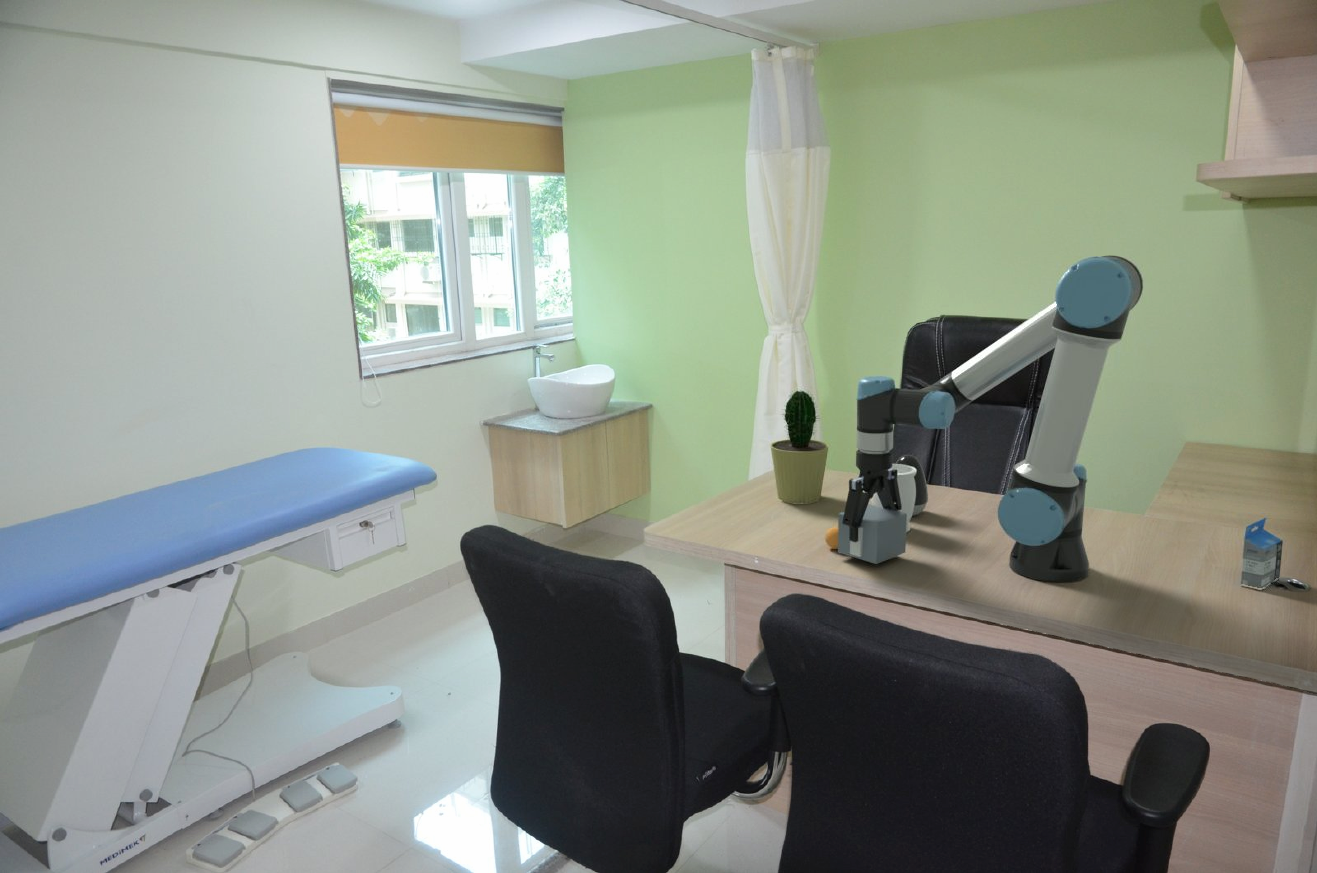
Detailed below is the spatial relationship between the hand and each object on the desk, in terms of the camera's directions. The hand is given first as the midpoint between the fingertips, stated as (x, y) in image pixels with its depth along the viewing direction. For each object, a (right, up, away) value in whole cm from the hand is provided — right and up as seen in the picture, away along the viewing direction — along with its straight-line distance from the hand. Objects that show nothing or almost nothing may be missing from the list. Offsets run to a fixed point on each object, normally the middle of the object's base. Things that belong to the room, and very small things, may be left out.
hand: (871, 549), depth 192 cm
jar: (+10, +2, +20) cm, 22 cm away
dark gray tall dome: (+16, +5, +32) cm, 36 cm away
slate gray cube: (0, -1, 0) cm, 1 cm away
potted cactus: (-8, +8, +47) cm, 49 cm away
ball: (-6, +2, +7) cm, 10 cm away
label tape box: (+72, -5, -19) cm, 74 cm away
